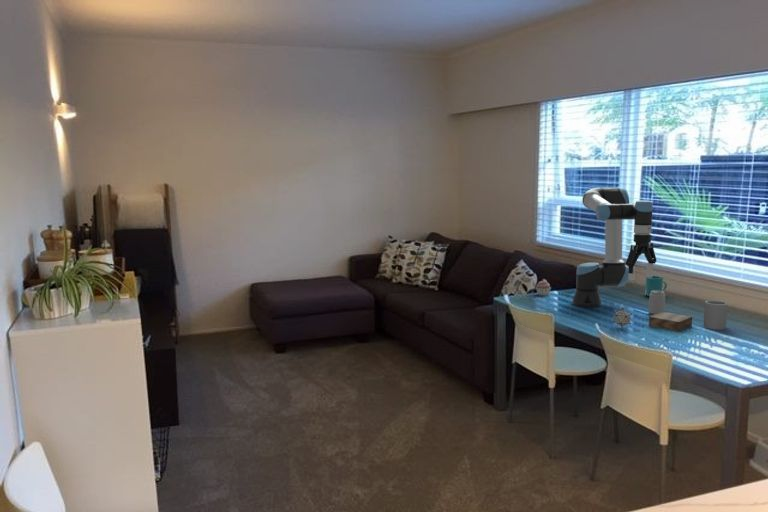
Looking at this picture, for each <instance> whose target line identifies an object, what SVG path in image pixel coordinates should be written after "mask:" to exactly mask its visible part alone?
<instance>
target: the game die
mask: <svg viewBox="0 0 768 512" xmlns="http://www.w3.org/2000/svg"><path fill="white" fill-rule="evenodd" d="M613 313H614V317H613V321H612V323H616V324H617V325H619V326H621V329H623V327H624V326H626V325H632V323H631V316H632V315H633V313H629V312H628V311H626V310H624V308H623V307H622V308H621V310H618V311H616V312H615V311H613Z"/></svg>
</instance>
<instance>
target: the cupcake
mask: <svg viewBox="0 0 768 512" xmlns="http://www.w3.org/2000/svg"><path fill="white" fill-rule="evenodd" d="M551 289H552V287H551V285H550V283H549V282H548V281H547V279H545V278H542V280H540V281H538V283H537V284H536V286H535V290H536V292H537V296H539V297H549V295H550V291H551Z"/></svg>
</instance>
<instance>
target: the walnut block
mask: <svg viewBox="0 0 768 512" xmlns="http://www.w3.org/2000/svg"><path fill="white" fill-rule="evenodd" d="M692 325H693V316H691V315H684V314H678V313H674V312H667V311H665V312H660V313H658V314H655V315H654V314H651V315H650V316H649V317H648V326H650V327H654V328H658V329H659V328H660V329H666V330H670V331H675V332H681V331H683V330H685V329H688V328H690V327H691V326H692Z"/></svg>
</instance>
